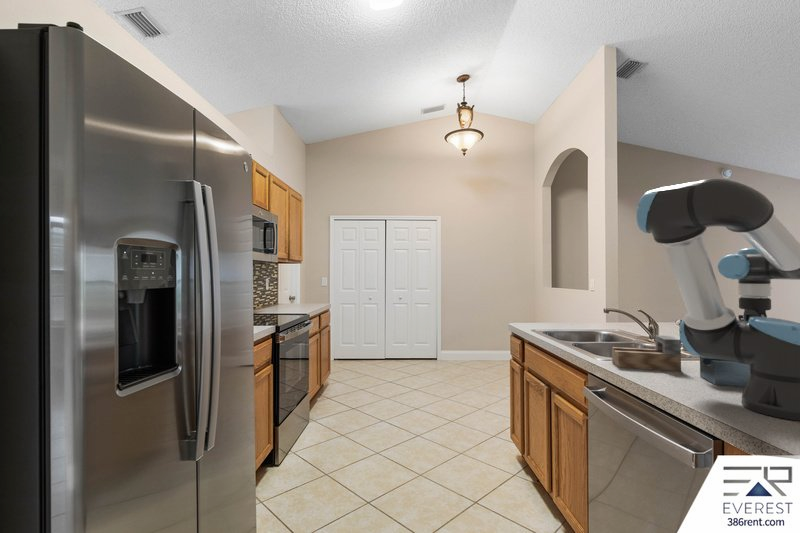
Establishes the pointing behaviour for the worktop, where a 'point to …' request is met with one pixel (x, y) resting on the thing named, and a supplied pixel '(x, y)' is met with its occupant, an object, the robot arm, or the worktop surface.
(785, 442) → the worktop surface
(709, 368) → the v block
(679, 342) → the wooden box
